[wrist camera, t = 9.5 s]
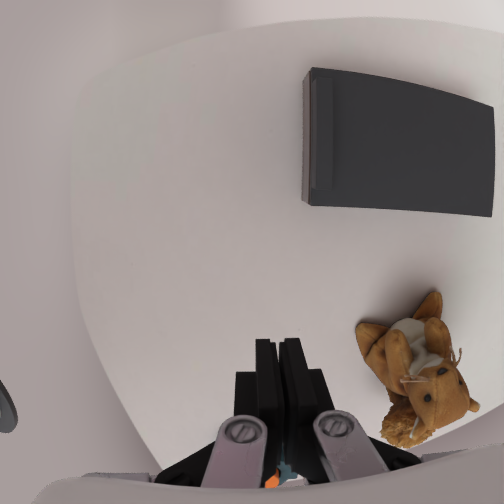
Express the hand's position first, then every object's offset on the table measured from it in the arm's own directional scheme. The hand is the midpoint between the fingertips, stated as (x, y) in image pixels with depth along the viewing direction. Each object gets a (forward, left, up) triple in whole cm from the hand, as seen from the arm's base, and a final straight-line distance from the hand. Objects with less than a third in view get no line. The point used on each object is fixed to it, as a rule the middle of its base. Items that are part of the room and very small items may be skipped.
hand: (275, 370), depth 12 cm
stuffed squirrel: (+15, -11, -17) cm, 25 cm away
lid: (+12, +10, -13) cm, 21 cm away
